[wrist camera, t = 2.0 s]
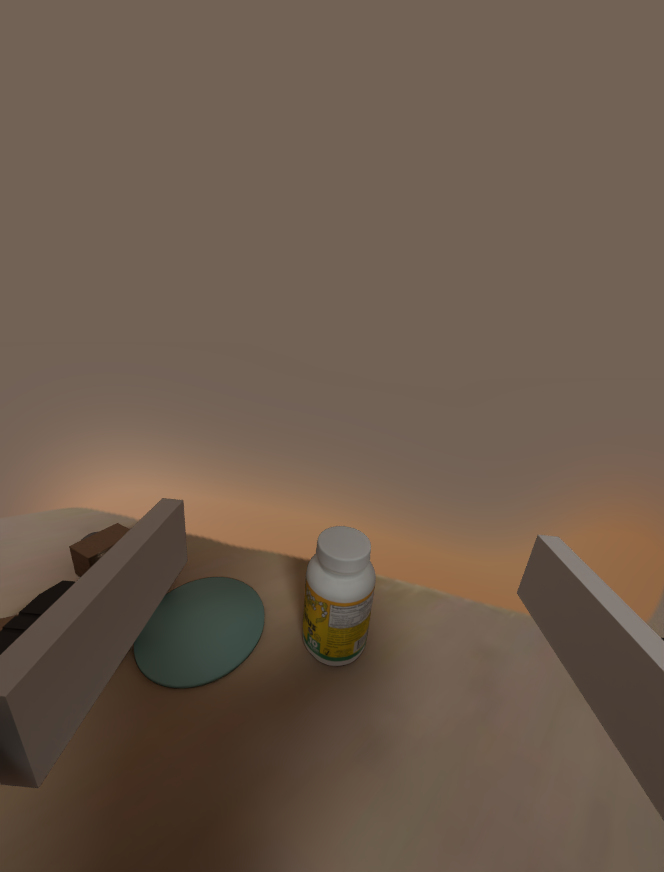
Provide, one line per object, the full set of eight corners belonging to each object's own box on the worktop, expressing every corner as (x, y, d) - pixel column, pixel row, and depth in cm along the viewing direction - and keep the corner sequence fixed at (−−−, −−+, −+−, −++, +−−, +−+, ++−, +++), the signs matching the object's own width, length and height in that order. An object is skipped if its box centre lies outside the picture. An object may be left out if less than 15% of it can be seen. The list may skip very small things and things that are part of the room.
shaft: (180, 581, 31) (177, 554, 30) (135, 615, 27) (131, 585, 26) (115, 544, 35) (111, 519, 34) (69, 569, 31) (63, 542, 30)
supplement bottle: (373, 665, 25) (390, 566, 22) (304, 672, 24) (312, 570, 21) (357, 607, 30) (369, 519, 27) (299, 611, 29) (305, 521, 26)
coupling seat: (274, 584, 32) (274, 581, 32) (245, 694, 22) (245, 691, 22) (173, 575, 32) (173, 572, 32) (102, 681, 22) (102, 678, 22)
